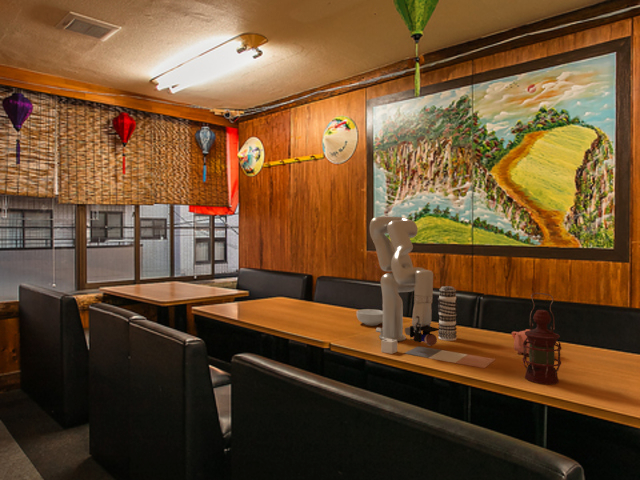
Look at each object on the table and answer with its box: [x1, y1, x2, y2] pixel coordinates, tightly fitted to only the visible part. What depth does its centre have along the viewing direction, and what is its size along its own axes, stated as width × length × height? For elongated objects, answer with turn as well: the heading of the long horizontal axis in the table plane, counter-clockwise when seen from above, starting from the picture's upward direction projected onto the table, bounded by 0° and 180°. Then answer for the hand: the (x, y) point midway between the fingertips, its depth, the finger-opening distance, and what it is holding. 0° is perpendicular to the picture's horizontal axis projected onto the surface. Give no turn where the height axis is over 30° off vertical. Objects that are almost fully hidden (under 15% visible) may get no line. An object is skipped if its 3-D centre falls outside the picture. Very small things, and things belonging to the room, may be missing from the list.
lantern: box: [522, 292, 563, 386], centre depth 152 cm, size 12×12×30 cm
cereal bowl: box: [356, 308, 383, 327], centre depth 245 cm, size 17×17×7 cm
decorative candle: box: [437, 285, 459, 342], centre depth 211 cm, size 9×9×25 cm
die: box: [380, 338, 398, 355], centre depth 188 cm, size 5×5×5 cm
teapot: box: [511, 328, 531, 355], centre depth 185 cm, size 14×12×10 cm
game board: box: [403, 345, 496, 369], centre depth 180 cm, size 33×14×1 cm, turn 53°
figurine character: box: [404, 324, 440, 347], centre depth 188 cm, size 7×8×15 cm
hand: (421, 339), depth 188 cm, fingers closed on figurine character, 7 cm apart
